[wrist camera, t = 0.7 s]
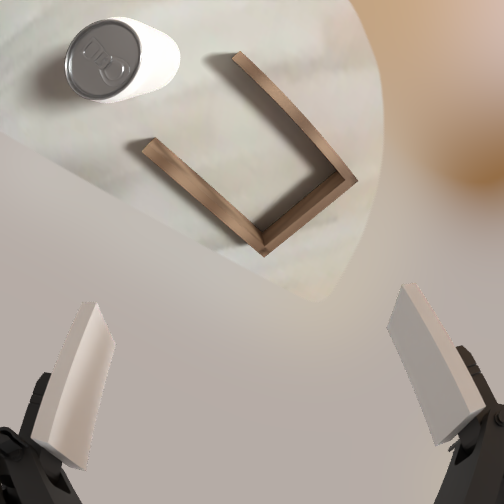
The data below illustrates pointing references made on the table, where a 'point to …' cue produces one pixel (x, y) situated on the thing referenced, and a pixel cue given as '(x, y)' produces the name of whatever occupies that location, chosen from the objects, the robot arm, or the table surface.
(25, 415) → the robot arm
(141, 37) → the can
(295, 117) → the open wooden frame
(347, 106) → the table surface
